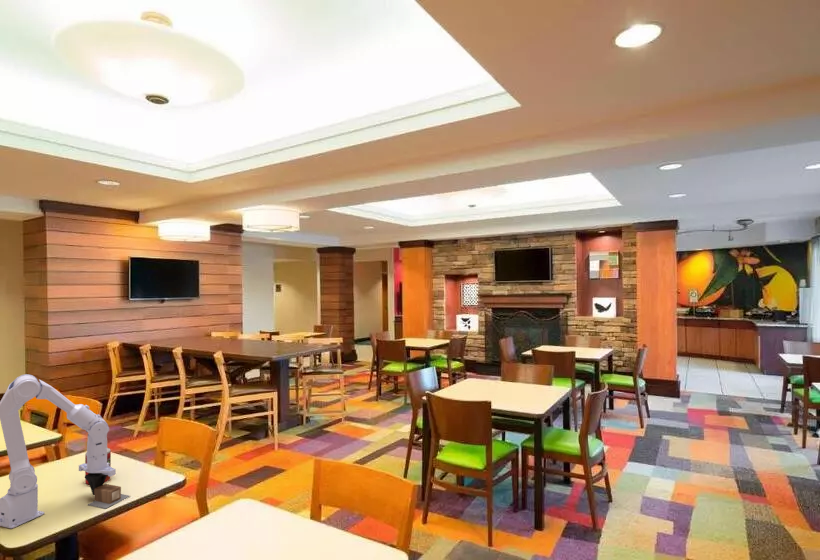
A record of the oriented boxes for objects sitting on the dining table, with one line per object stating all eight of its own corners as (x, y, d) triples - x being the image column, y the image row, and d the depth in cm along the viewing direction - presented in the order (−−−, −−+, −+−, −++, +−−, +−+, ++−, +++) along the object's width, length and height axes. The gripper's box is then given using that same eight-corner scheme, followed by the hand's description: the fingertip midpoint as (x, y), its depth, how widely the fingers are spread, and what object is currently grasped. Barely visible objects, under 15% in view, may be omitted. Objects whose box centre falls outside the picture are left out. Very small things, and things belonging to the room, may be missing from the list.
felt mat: (105, 509, 150) (105, 508, 150) (87, 505, 152) (87, 504, 152) (130, 496, 158) (130, 495, 158) (112, 493, 161) (112, 492, 161)
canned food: (101, 485, 167) (101, 455, 167) (79, 485, 167) (79, 455, 167) (115, 476, 174) (115, 447, 174) (94, 476, 174) (94, 447, 174)
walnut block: (94, 500, 155) (110, 503, 153) (94, 488, 155) (110, 491, 153) (105, 495, 159) (121, 498, 156) (105, 483, 159) (121, 486, 156)
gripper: (123, 452, 159) (123, 491, 159) (92, 447, 163) (92, 485, 163) (104, 460, 152) (104, 501, 152) (72, 454, 156) (72, 494, 157)
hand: (96, 494), depth 157 cm, fingers closed
